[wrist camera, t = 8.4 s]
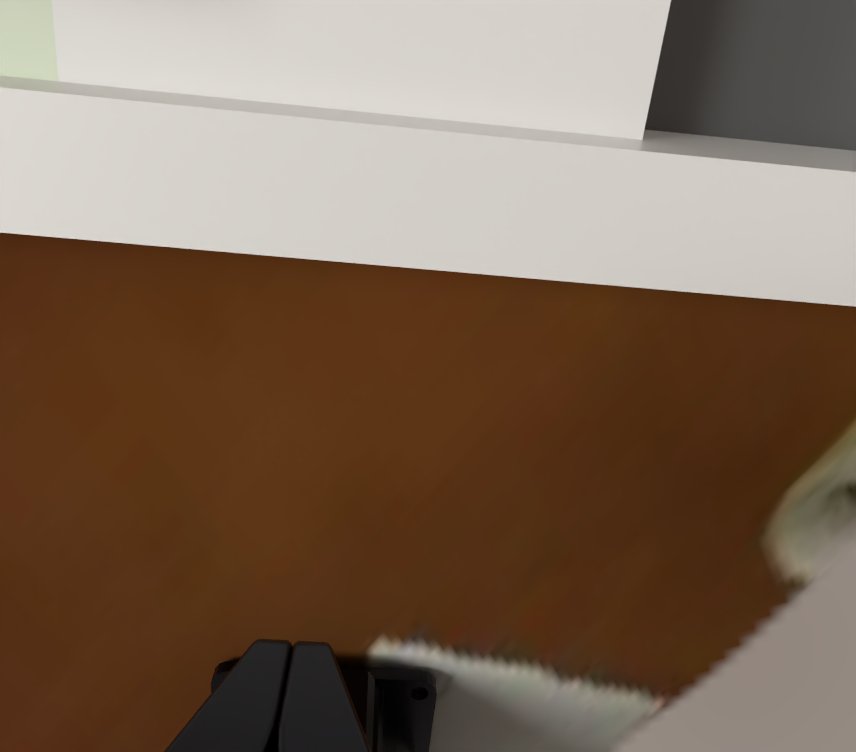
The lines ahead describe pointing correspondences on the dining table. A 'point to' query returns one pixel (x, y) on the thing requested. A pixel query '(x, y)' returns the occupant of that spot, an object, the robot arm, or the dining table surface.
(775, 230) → the box
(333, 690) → the robot arm
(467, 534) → the dining table surface
